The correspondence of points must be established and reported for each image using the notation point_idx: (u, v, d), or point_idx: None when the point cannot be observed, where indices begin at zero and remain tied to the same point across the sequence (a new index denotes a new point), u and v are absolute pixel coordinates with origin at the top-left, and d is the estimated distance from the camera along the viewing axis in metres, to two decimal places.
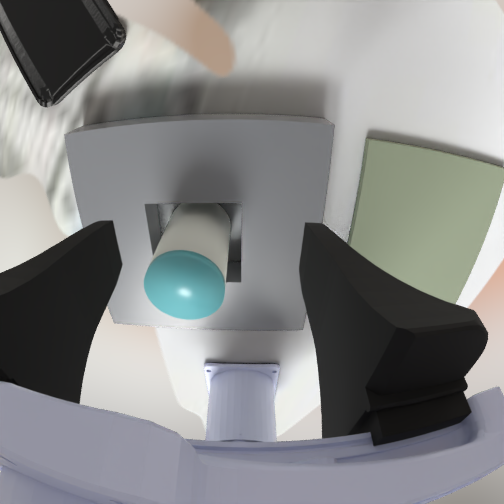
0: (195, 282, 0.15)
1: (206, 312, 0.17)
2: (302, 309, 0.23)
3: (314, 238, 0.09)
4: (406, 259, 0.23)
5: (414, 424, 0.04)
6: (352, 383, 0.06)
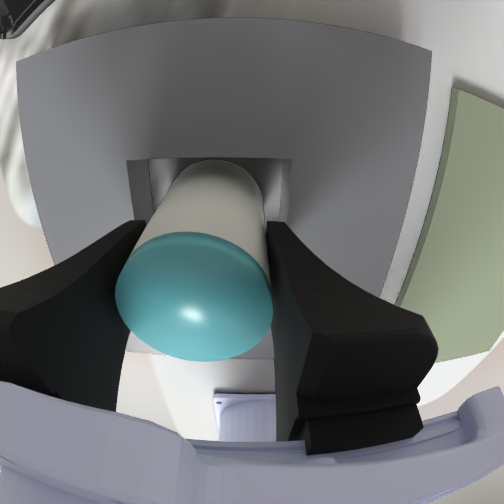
0: (216, 297, 0.08)
1: (233, 350, 0.09)
2: None
3: (271, 237, 0.09)
4: (483, 257, 0.15)
5: (351, 436, 0.04)
6: (290, 387, 0.06)
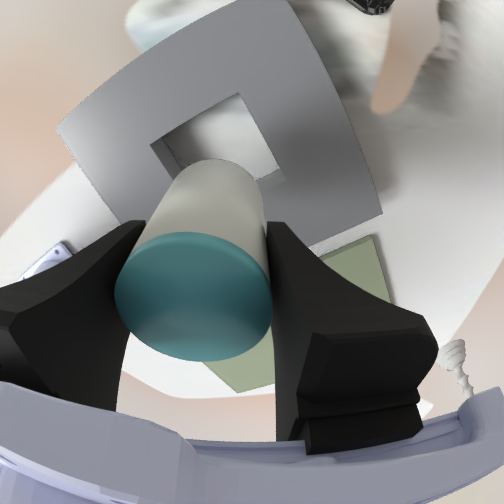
0: (216, 298, 0.08)
1: (232, 351, 0.09)
2: None
3: (271, 237, 0.09)
4: None
5: (351, 436, 0.04)
6: (290, 387, 0.06)
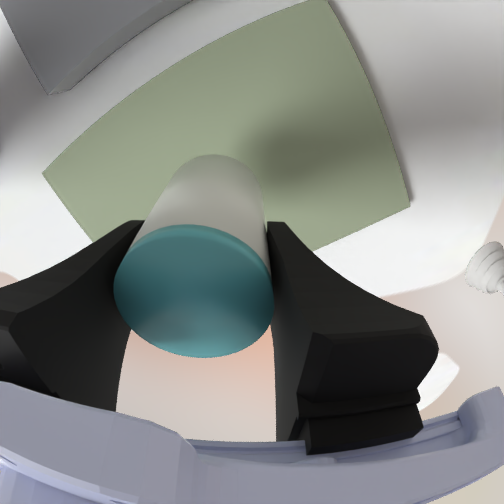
0: (215, 290, 0.08)
1: (236, 344, 0.09)
2: (73, 61, 0.11)
3: (271, 237, 0.09)
4: (218, 149, 0.16)
5: (351, 436, 0.04)
6: (290, 387, 0.06)
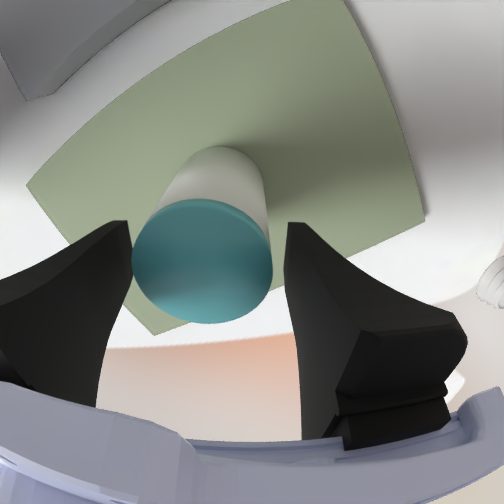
0: (221, 256, 0.09)
1: (239, 310, 0.10)
2: (52, 62, 0.09)
3: (295, 238, 0.09)
4: None
5: (387, 430, 0.04)
6: (324, 385, 0.06)
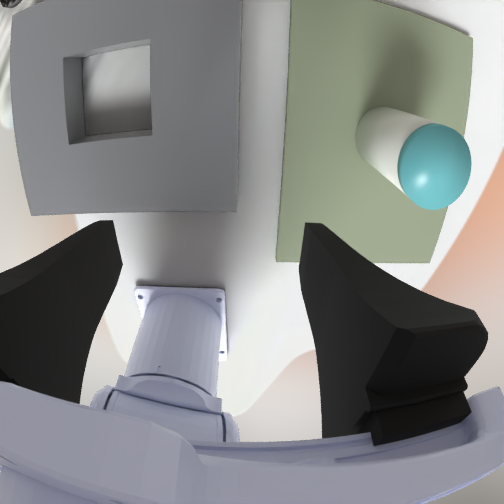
0: (440, 150, 0.12)
1: (467, 169, 0.12)
2: (230, 175, 0.18)
3: (314, 238, 0.09)
4: None
5: (414, 424, 0.04)
6: (352, 383, 0.06)
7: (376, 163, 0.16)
